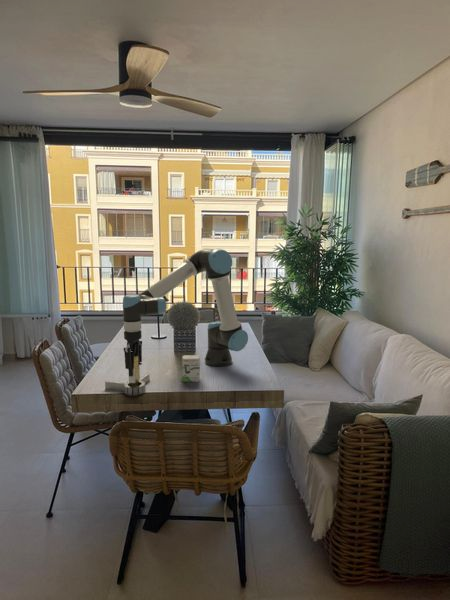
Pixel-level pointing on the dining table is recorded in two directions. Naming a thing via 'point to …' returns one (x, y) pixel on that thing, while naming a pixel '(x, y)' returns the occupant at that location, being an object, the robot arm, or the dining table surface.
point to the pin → (136, 372)
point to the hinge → (127, 388)
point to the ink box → (190, 368)
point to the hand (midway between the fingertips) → (134, 380)
